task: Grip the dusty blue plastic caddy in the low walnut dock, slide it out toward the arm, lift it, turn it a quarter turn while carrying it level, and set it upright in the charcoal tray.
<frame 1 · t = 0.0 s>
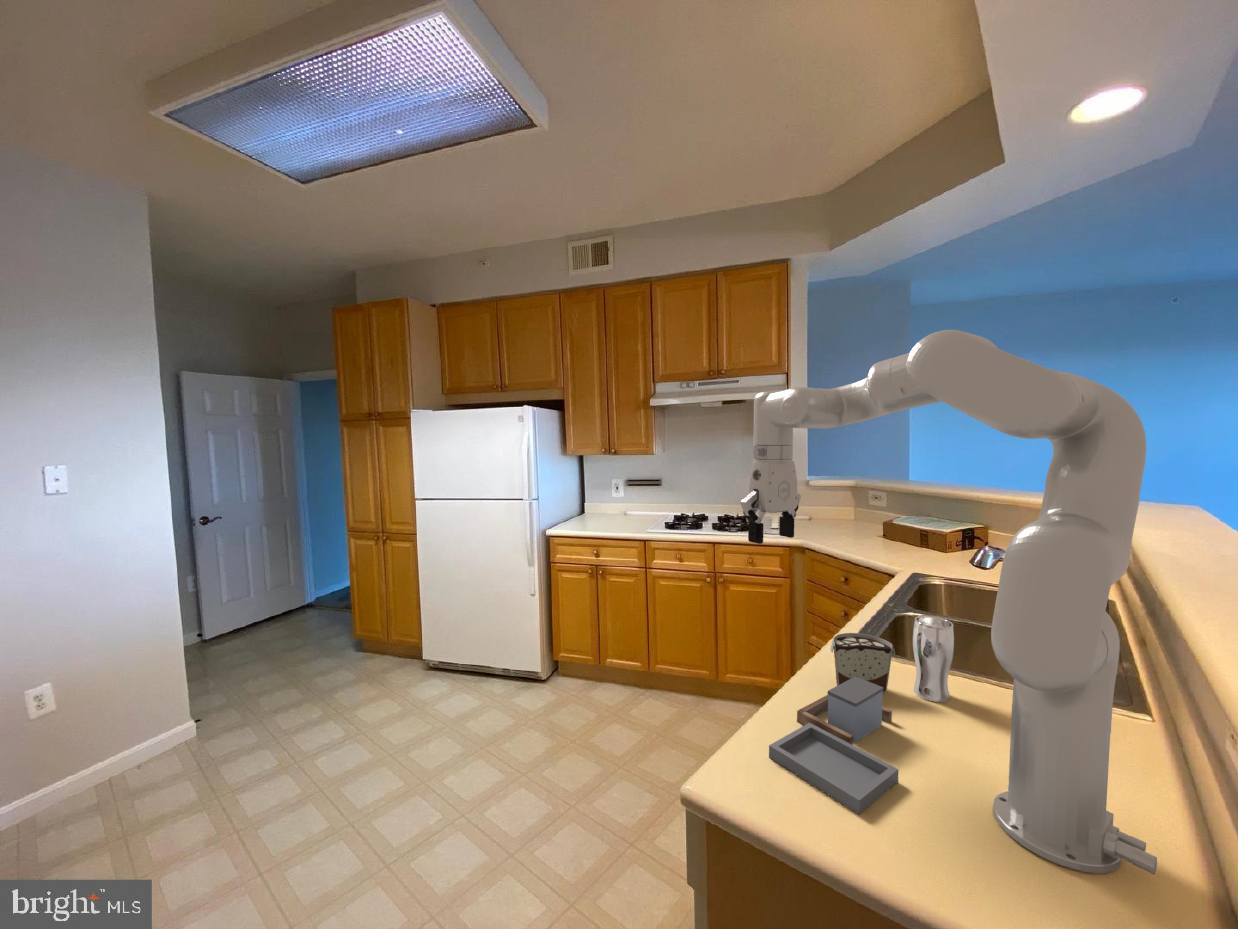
hand: (771, 539, 100), 31 cm above the worktop, tool pointing down, fingers open, 9 cm apart
beer glass: (931, 695, 100), on the worktop
food container: (856, 685, 104), on the worktop
dock: (854, 726, 89), on the worktop
tray: (831, 769, 78), on the worktop
caddy: (854, 727, 89), on the worktop
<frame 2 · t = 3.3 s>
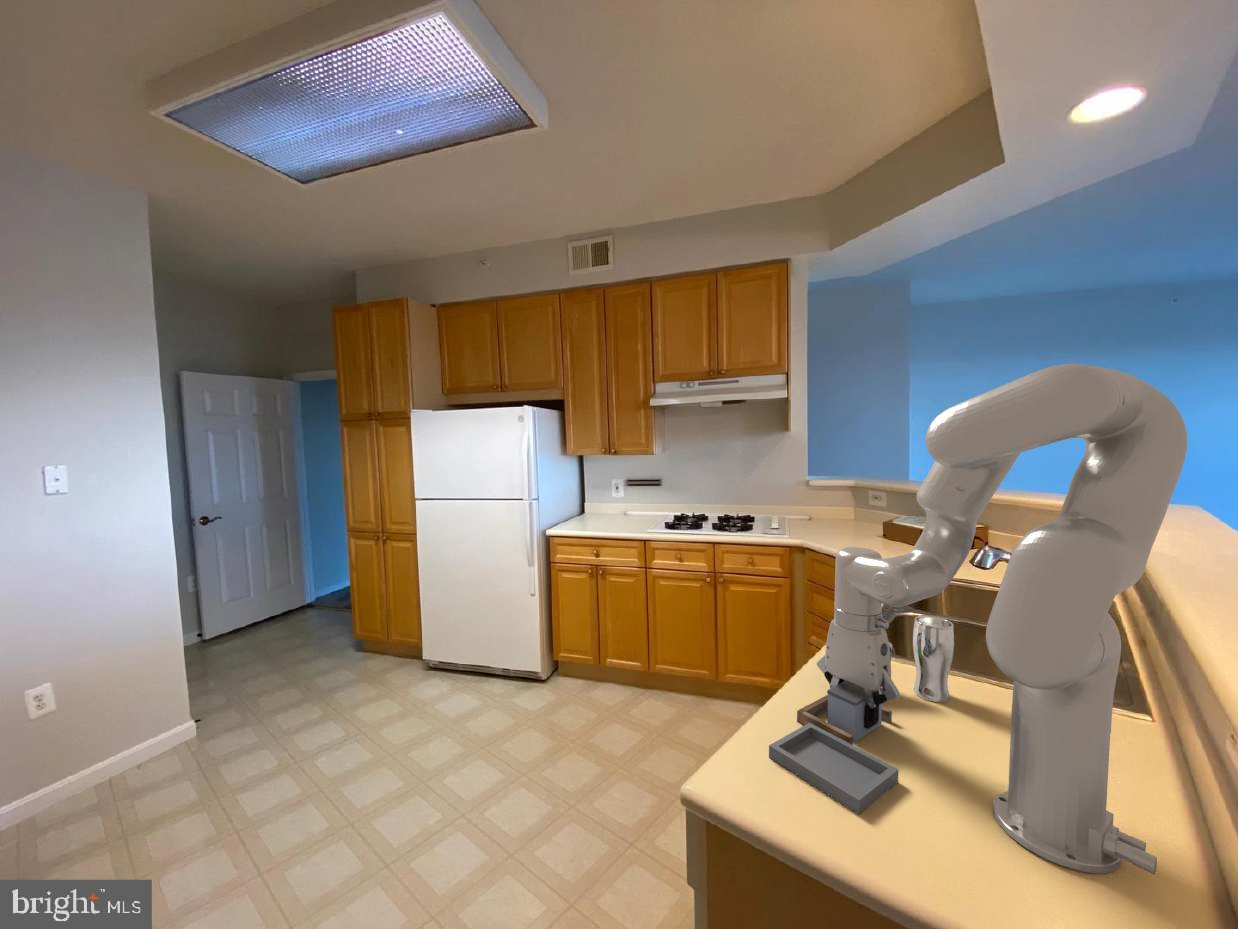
hand: (854, 717, 89), 2 cm above the worktop, tool pointing down, fingers closed on caddy, 5 cm apart
caddy: (854, 726, 89), on the worktop, touching gripper
everything else where it was.
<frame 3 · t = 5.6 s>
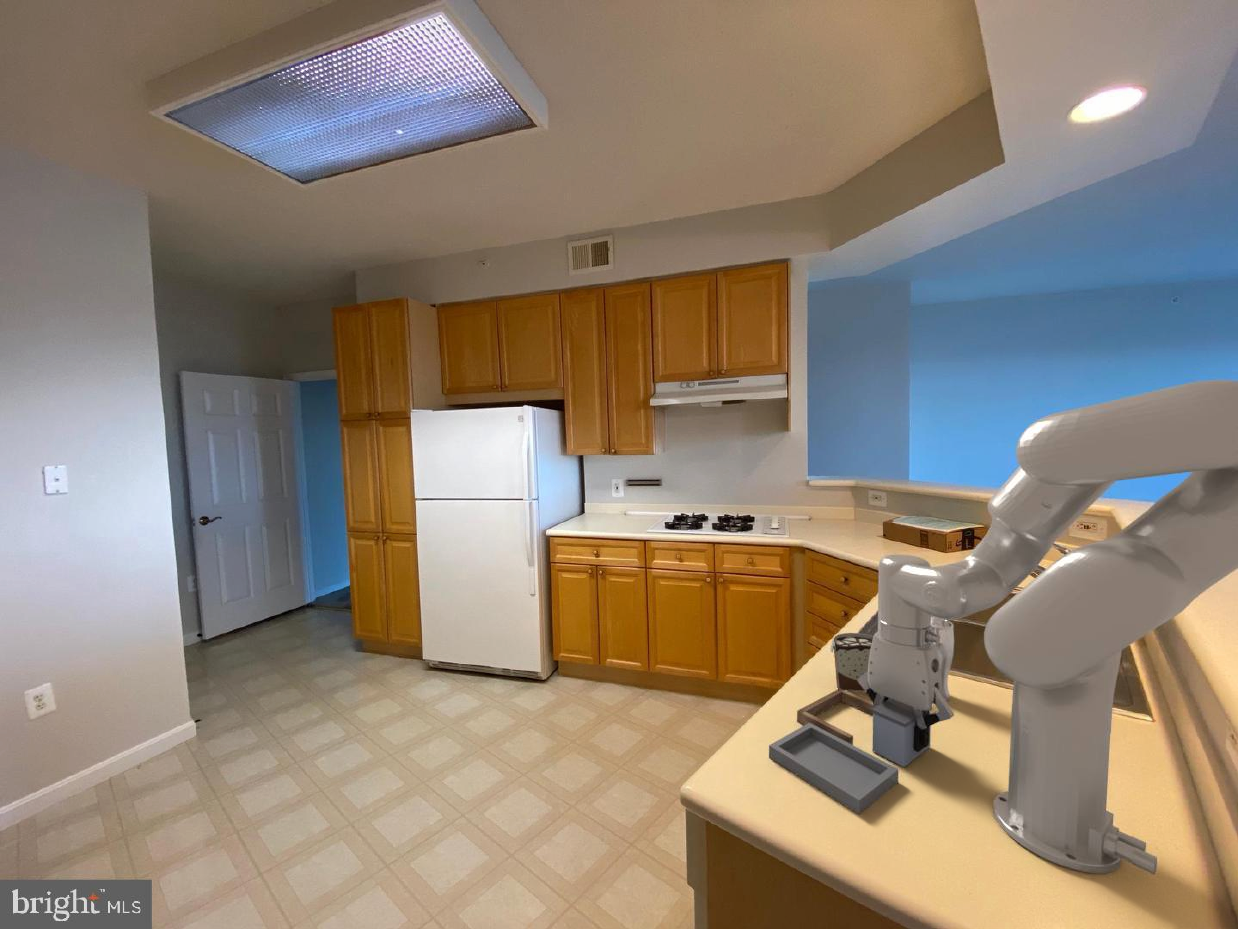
hand: (901, 738, 82), 2 cm above the worktop, tool pointing down, fingers closed on caddy, 5 cm apart
caddy: (901, 748, 82), on the worktop, touching gripper
everything else where it was.
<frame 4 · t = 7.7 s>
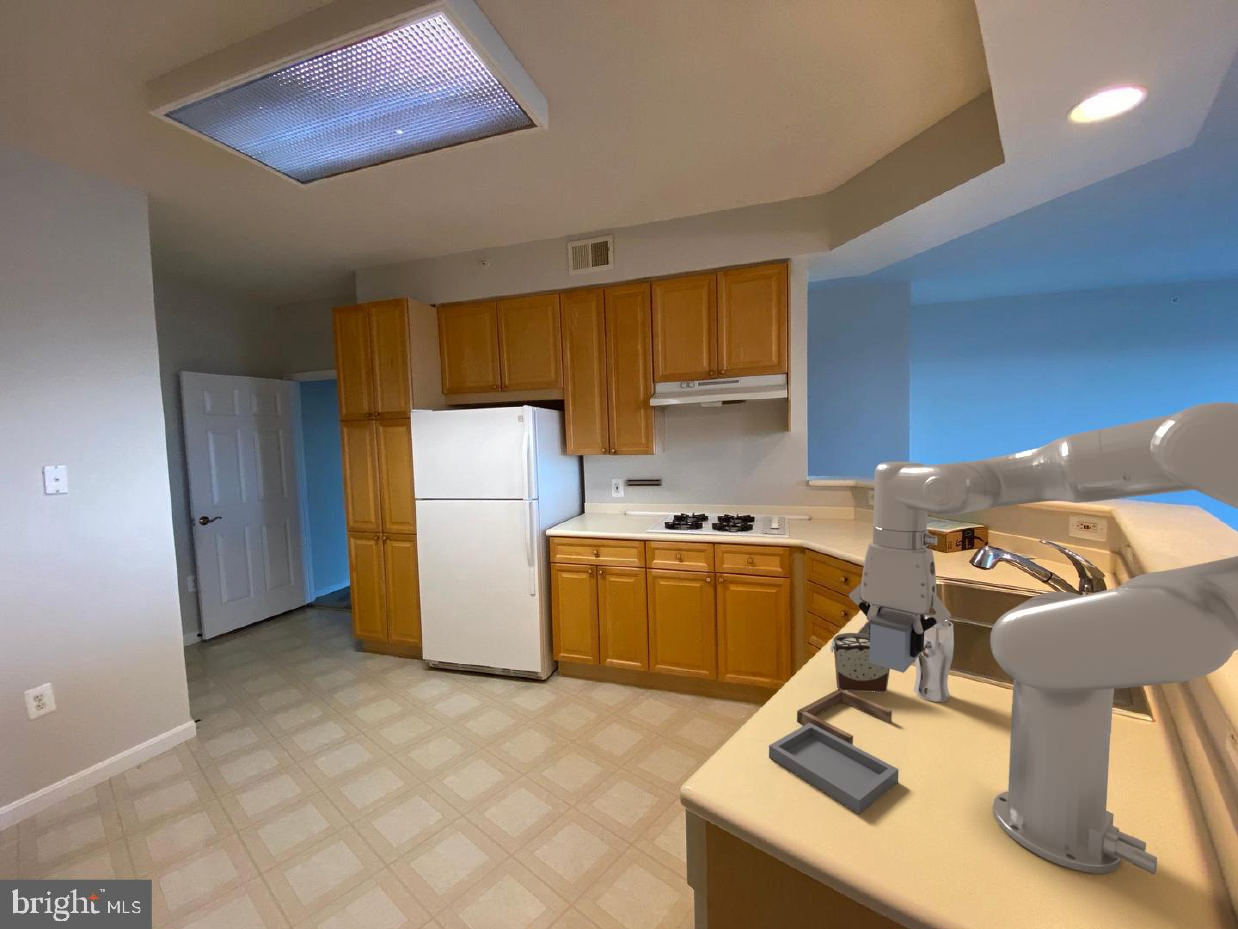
hand: (895, 648, 81), 17 cm above the worktop, tool pointing down, fingers closed on caddy, 5 cm apart
caddy: (895, 658, 81), point 16 cm above the worktop, touching gripper
everything else where it was.
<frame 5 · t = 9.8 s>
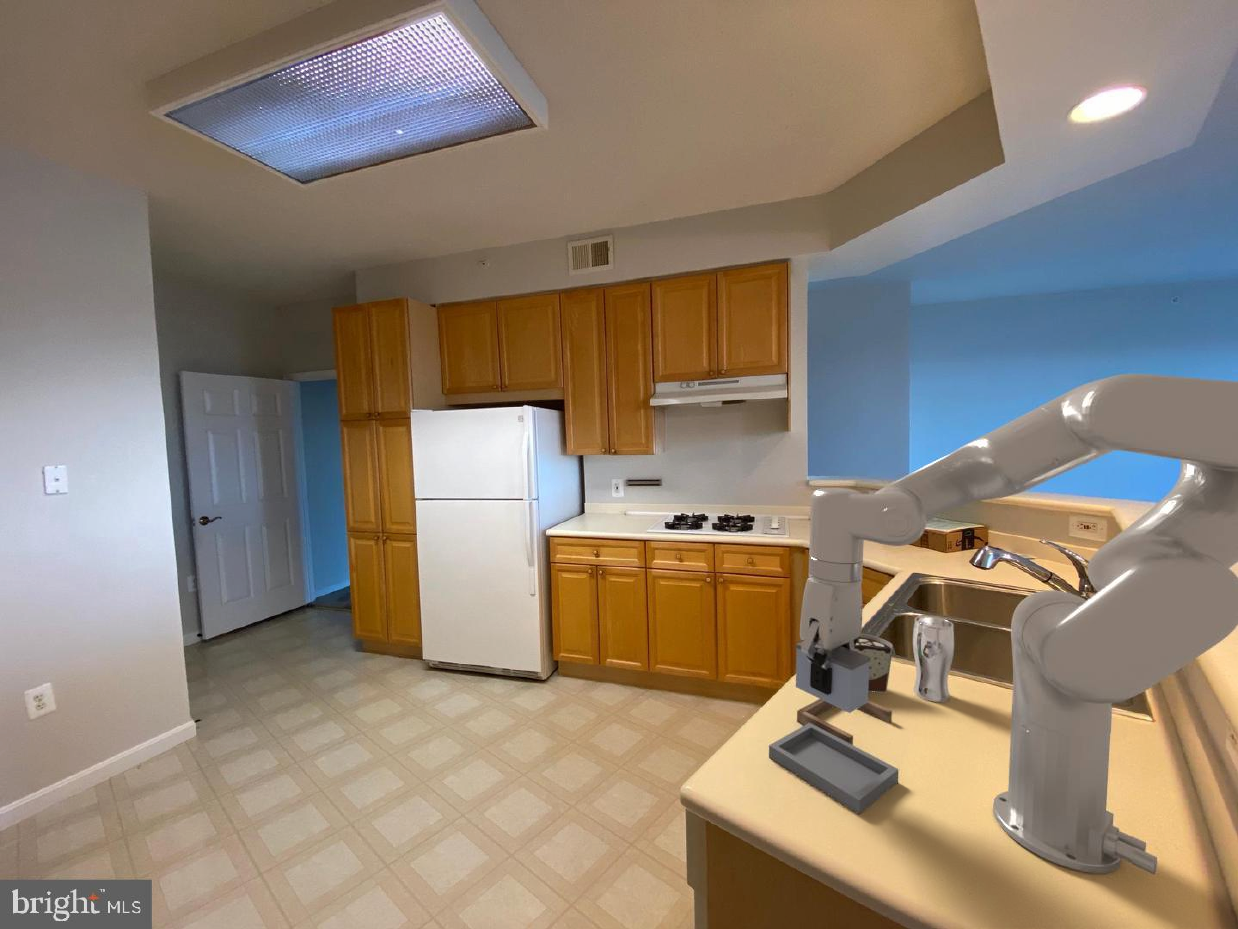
hand: (831, 684, 77), 14 cm above the worktop, tool pointing down, fingers closed on caddy, 5 cm apart
caddy: (830, 694, 77), point 12 cm above the worktop, touching gripper
everything else where it was.
when the fingers open (3 cm above the worktop, at t = 11.9 s): caddy drops 1 cm, resting on tray.
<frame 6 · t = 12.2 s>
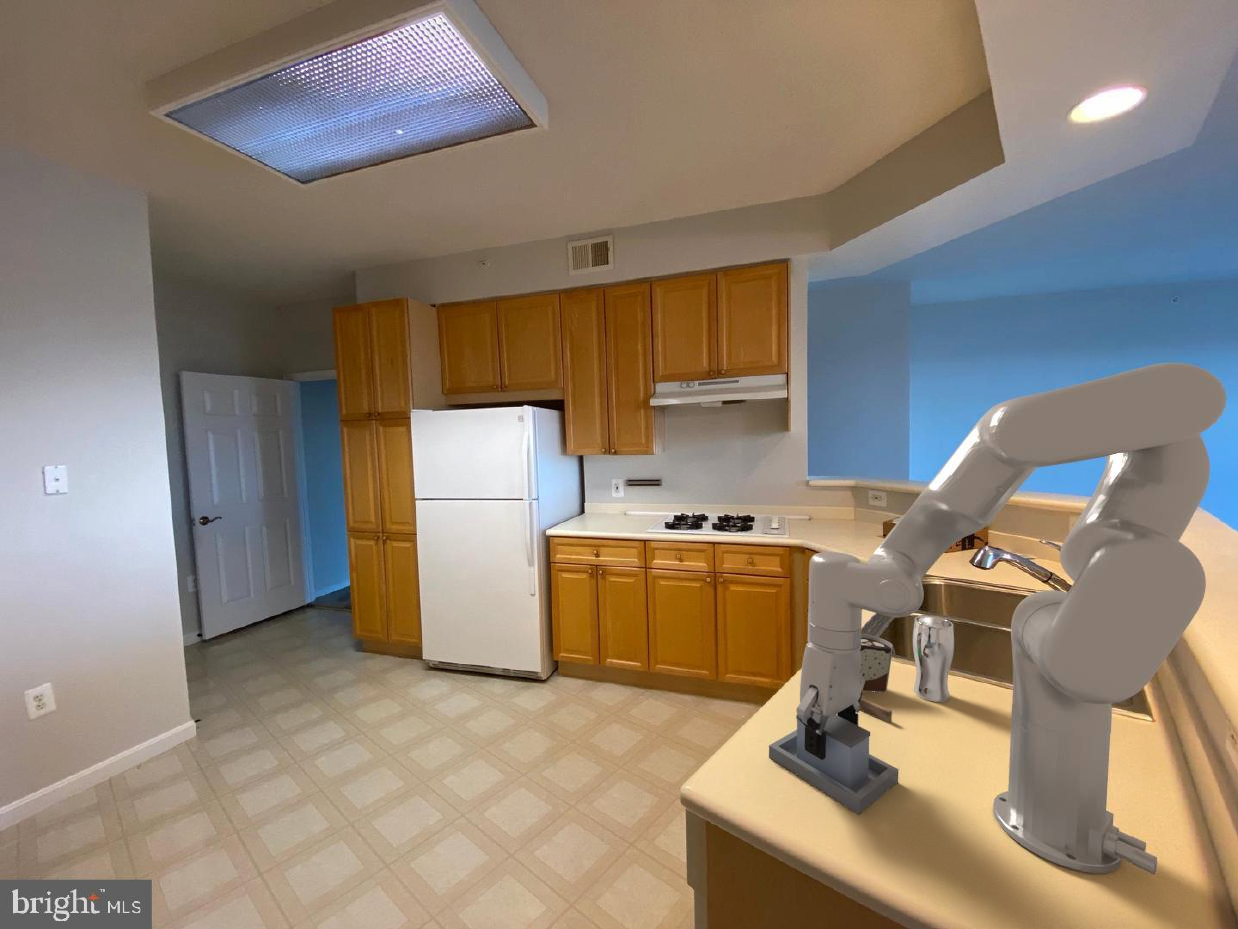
hand: (831, 743, 77), 4 cm above the worktop, tool pointing down, fingers open, 8 cm apart
caddy: (831, 766, 78), resting on tray
everything else where it was.
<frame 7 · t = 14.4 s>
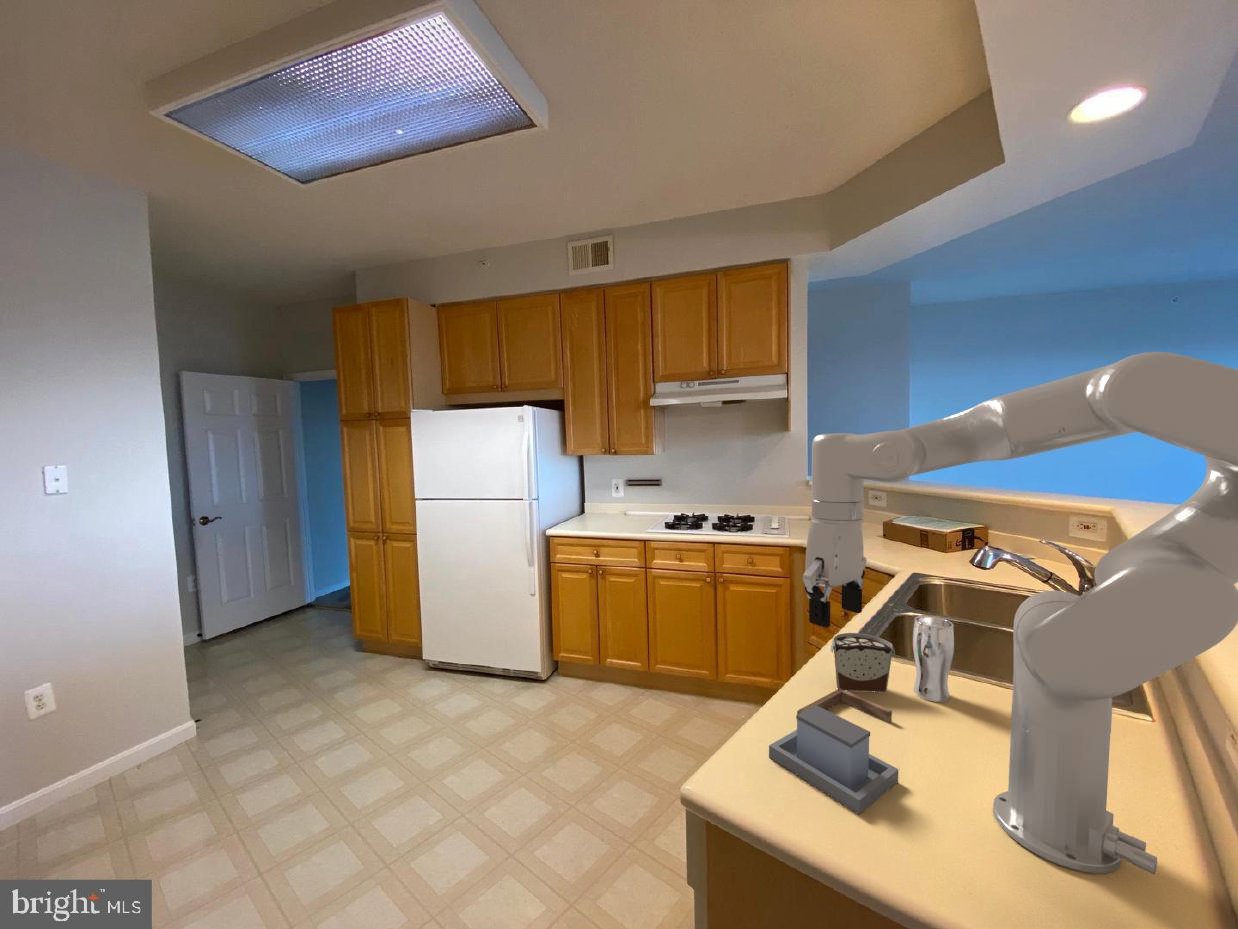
hand: (836, 617, 80), 23 cm above the worktop, tool pointing down, fingers open, 9 cm apart
nothing on the worktop moved.
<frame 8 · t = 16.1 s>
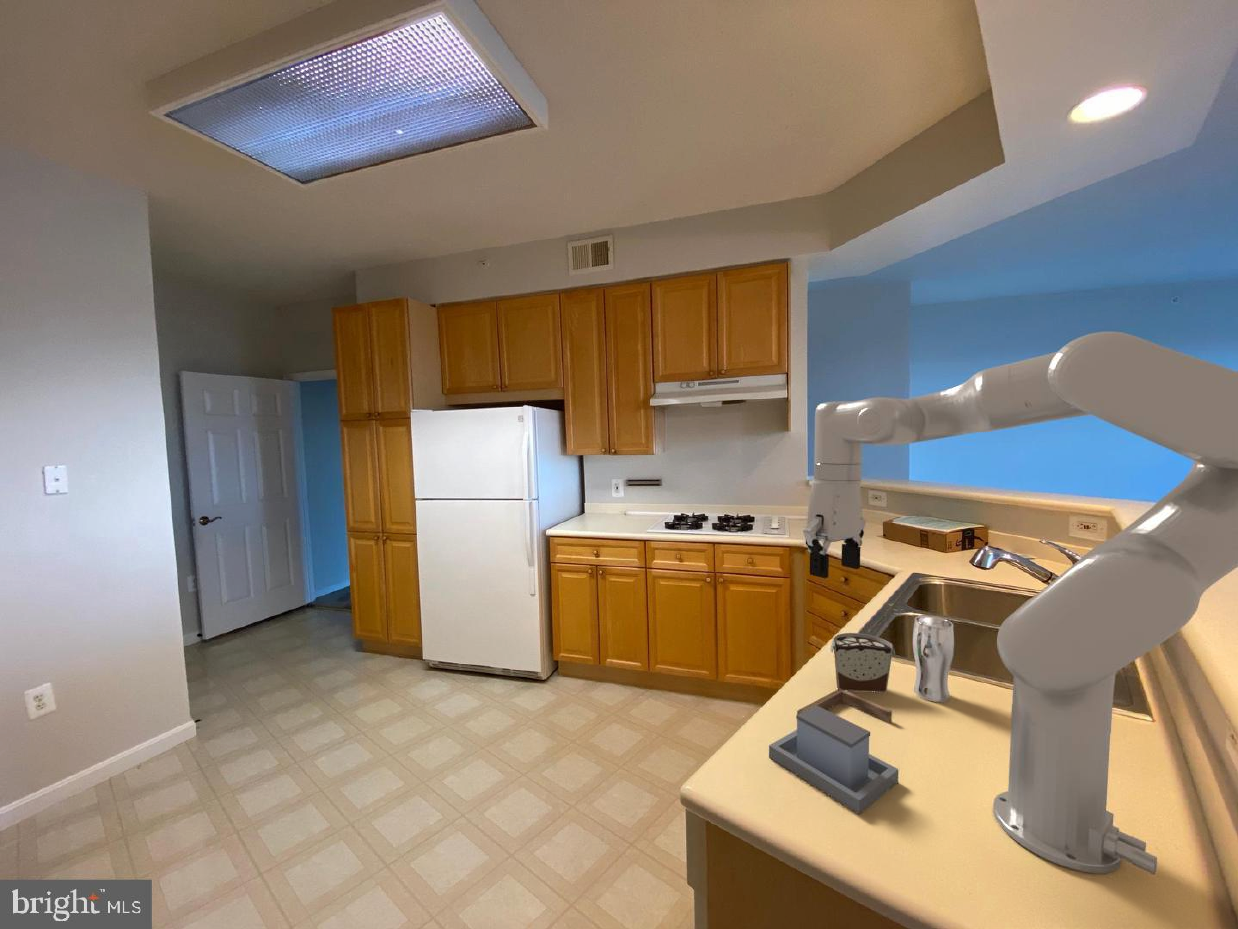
hand: (835, 571, 87), 28 cm above the worktop, tool pointing down, fingers open, 9 cm apart
nothing on the worktop moved.
at the end: caddy 0.0 cm off-centre on the tray, point 0.4 cm above the tray's base; caddy tilted 0°; the gripper is holding nothing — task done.
